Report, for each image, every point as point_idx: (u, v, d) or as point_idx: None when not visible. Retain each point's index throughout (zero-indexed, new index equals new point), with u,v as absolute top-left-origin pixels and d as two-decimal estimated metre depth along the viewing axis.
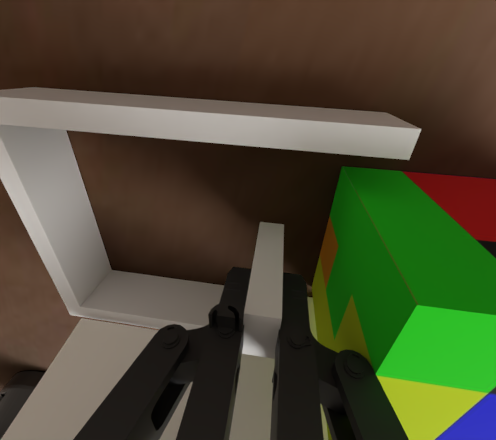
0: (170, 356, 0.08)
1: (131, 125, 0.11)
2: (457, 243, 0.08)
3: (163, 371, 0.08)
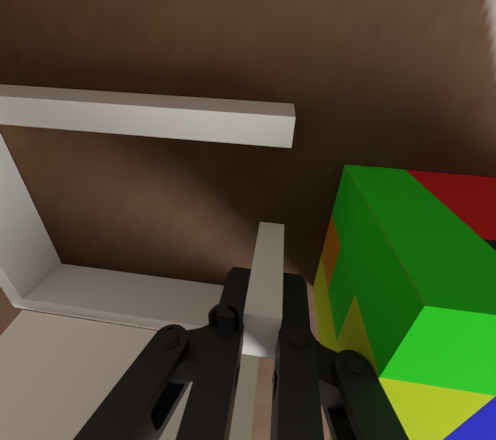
0: (170, 356, 0.08)
1: (28, 116, 0.11)
2: (463, 242, 0.08)
3: (163, 371, 0.08)
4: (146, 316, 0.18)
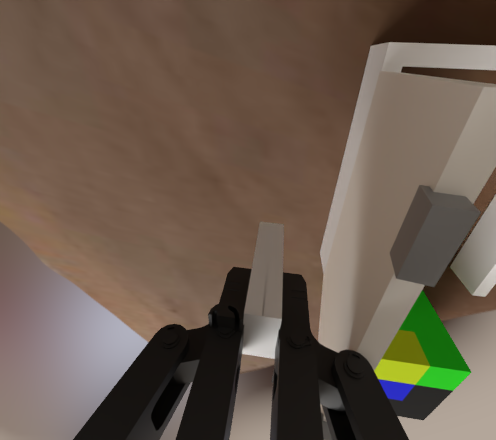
0: (170, 356, 0.08)
1: None
2: None
3: (163, 371, 0.08)
4: None
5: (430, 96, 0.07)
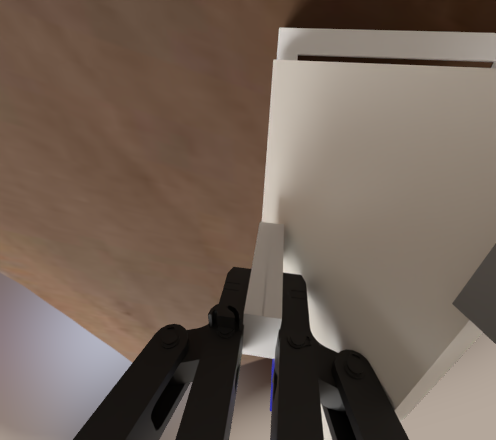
0: (170, 356, 0.08)
1: None
2: None
3: (163, 371, 0.08)
4: None
5: (445, 89, 0.05)
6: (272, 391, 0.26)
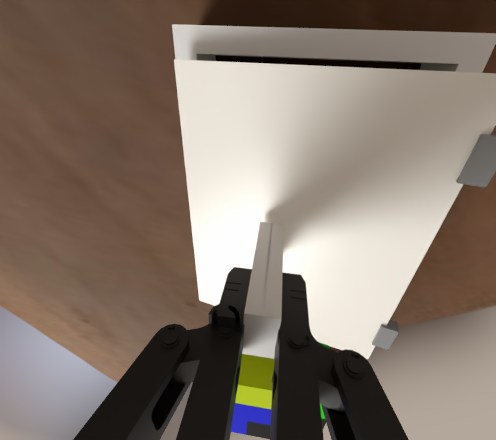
0: (170, 356, 0.08)
1: None
2: None
3: (163, 371, 0.08)
4: None
5: (432, 82, 0.09)
6: None
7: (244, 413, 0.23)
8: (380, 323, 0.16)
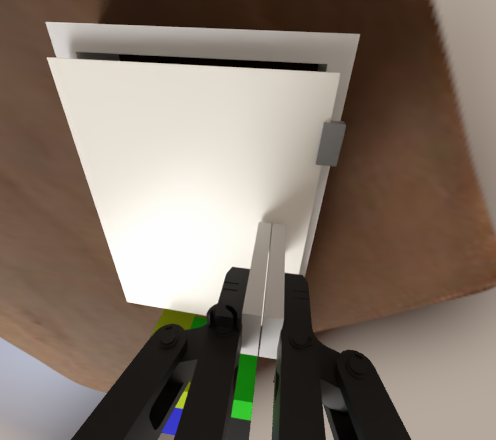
0: (168, 356, 0.08)
1: None
2: None
3: (161, 371, 0.08)
4: None
5: (279, 79, 0.11)
6: None
7: (172, 415, 0.22)
8: None
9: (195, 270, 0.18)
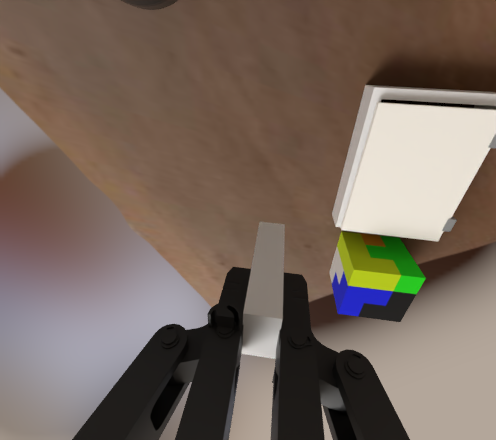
0: (169, 356, 0.08)
1: None
2: None
3: (162, 371, 0.08)
4: None
5: (483, 113, 0.28)
6: (341, 298, 0.41)
7: (364, 296, 0.39)
8: (448, 218, 0.35)
9: (398, 206, 0.35)
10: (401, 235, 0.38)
